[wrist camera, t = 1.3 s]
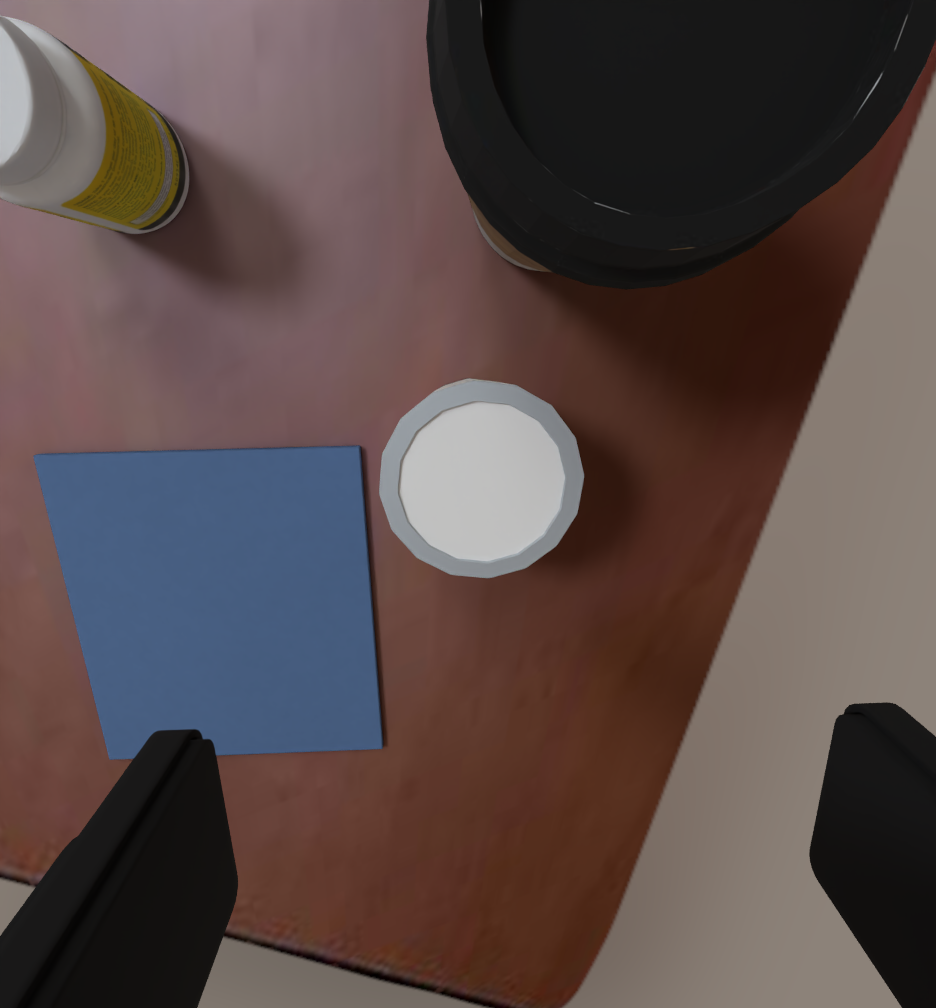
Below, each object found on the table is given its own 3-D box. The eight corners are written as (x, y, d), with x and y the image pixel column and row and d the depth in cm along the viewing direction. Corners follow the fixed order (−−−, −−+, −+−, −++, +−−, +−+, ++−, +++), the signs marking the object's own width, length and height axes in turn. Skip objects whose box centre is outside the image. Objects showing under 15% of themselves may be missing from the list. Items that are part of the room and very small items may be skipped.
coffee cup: (660, 282, 24) (966, 228, 10) (460, 321, 24) (476, 325, 10) (641, 44, 22) (1015, -490, 7) (417, 90, 22) (360, -341, 8)
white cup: (367, 409, 25) (338, 441, 19) (508, 334, 25) (531, 340, 18) (440, 539, 27) (438, 611, 21) (574, 474, 27) (616, 526, 20)
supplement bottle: (179, 93, 22) (21, -41, 14) (203, 231, 23) (73, 186, 15) (48, 99, 22) (-188, -31, 14) (81, 238, 23) (-115, 195, 15)
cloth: (38, 453, 25) (32, 455, 25) (360, 445, 26) (359, 447, 25) (113, 754, 30) (109, 760, 30) (383, 743, 31) (382, 749, 30)
